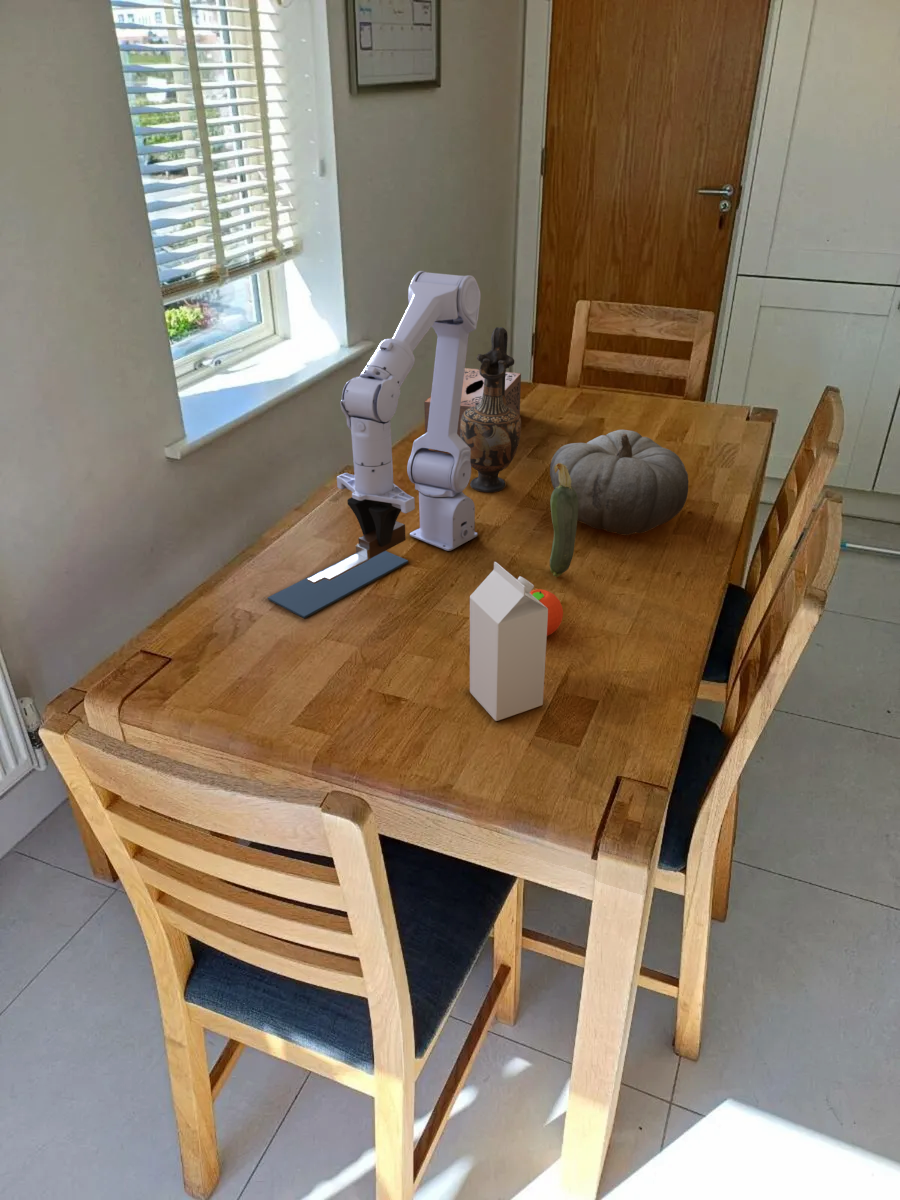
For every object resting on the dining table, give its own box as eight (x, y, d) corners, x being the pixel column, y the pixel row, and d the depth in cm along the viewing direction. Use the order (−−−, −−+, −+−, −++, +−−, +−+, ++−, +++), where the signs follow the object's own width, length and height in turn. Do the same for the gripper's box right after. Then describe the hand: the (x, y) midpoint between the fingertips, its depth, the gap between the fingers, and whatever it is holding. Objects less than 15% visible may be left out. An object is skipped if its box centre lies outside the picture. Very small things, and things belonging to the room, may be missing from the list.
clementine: (545, 655, 124) (547, 612, 120) (502, 641, 127) (503, 599, 123) (569, 628, 130) (572, 587, 126) (528, 615, 133) (529, 575, 129)
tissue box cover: (488, 453, 189) (488, 408, 184) (425, 445, 193) (424, 401, 188) (519, 414, 210) (521, 373, 204) (462, 408, 214) (462, 367, 209)
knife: (394, 535, 141) (393, 519, 139) (406, 540, 139) (405, 524, 138) (307, 580, 129) (305, 563, 127) (319, 586, 127) (317, 569, 126)
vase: (451, 492, 172) (450, 337, 156) (474, 468, 182) (475, 321, 166) (508, 501, 168) (512, 343, 152) (528, 477, 178) (534, 326, 162)
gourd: (519, 518, 155) (539, 423, 148) (568, 489, 176) (588, 404, 169) (654, 563, 146) (682, 463, 139) (689, 526, 167) (715, 438, 160)
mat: (408, 562, 148) (408, 560, 147) (304, 618, 133) (304, 616, 133) (371, 546, 153) (371, 544, 152) (267, 599, 138) (267, 597, 138)
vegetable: (575, 573, 144) (584, 459, 133) (570, 586, 140) (578, 470, 130) (549, 569, 145) (556, 456, 135) (543, 582, 142) (549, 466, 131)
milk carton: (496, 722, 111) (498, 594, 101) (469, 692, 117) (469, 568, 107) (543, 706, 114) (550, 580, 104) (515, 677, 120) (519, 554, 110)
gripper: (319, 455, 131) (326, 536, 138) (389, 480, 123) (393, 565, 130) (353, 441, 135) (359, 521, 142) (423, 465, 127) (425, 547, 134)
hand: (377, 541), depth 136 cm, fingers closed on knife, 2 cm apart
